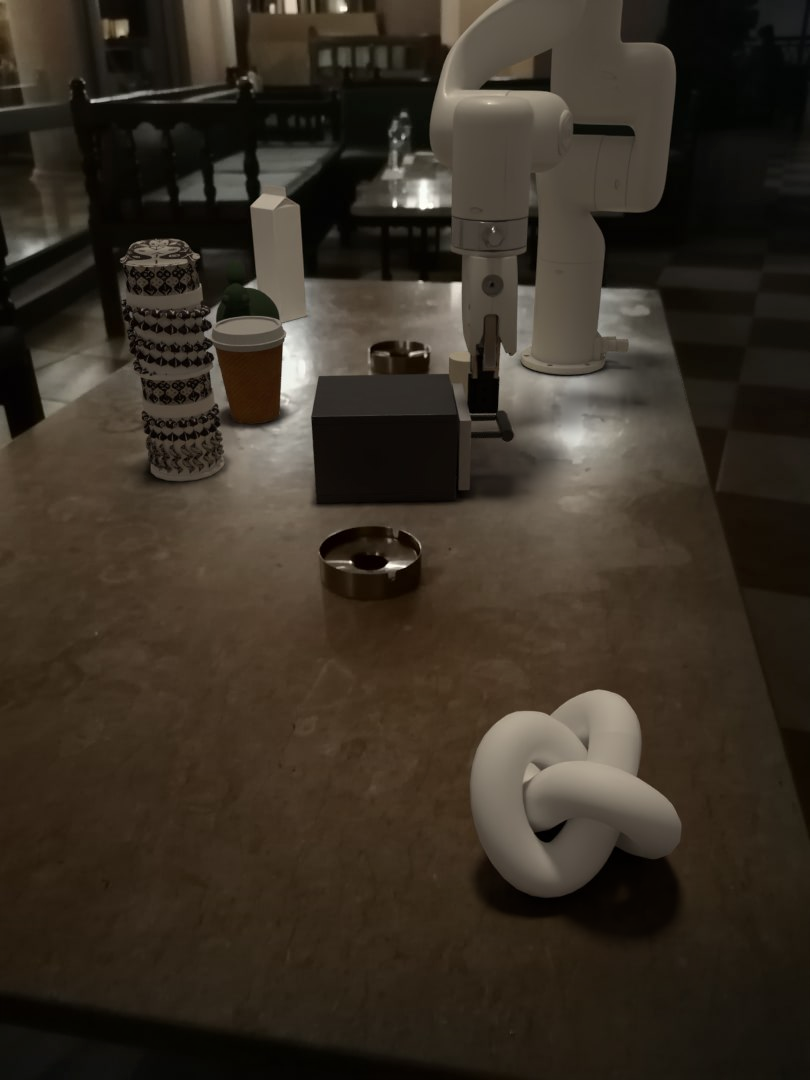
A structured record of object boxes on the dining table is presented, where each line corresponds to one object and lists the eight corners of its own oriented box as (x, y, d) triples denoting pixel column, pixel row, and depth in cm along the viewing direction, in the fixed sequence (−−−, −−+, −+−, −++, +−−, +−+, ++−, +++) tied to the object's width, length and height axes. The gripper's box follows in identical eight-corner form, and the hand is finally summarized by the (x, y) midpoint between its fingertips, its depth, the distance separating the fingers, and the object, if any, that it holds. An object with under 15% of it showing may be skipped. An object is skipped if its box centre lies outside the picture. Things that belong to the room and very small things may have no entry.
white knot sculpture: (529, 965, 48) (540, 844, 44) (427, 812, 57) (428, 700, 53) (697, 889, 52) (722, 771, 48) (576, 758, 62) (588, 651, 57)
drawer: (502, 446, 107) (505, 382, 103) (515, 489, 97) (519, 419, 93) (345, 449, 106) (342, 385, 103) (341, 492, 96) (338, 422, 92)
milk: (281, 323, 158) (270, 189, 148) (259, 317, 162) (247, 186, 151) (307, 316, 162) (298, 185, 152) (285, 310, 166) (275, 182, 155)
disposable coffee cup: (278, 431, 114) (271, 337, 108) (207, 426, 116) (196, 333, 110) (301, 405, 122) (295, 316, 117) (234, 400, 124) (225, 313, 118)
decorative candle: (130, 476, 103) (91, 248, 91) (175, 446, 110) (145, 232, 98) (200, 487, 100) (170, 254, 88) (241, 455, 107) (219, 237, 95)
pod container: (480, 392, 126) (481, 350, 123) (483, 404, 122) (485, 361, 119) (447, 393, 126) (447, 351, 123) (449, 404, 122) (450, 361, 119)
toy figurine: (281, 408, 126) (283, 340, 147) (269, 272, 115) (273, 220, 136) (212, 411, 125) (224, 343, 146) (194, 275, 115) (210, 222, 135)
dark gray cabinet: (447, 453, 108) (448, 373, 103) (455, 500, 96) (457, 413, 92) (323, 455, 107) (318, 375, 103) (316, 503, 96) (311, 416, 91)
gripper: (538, 248, 83) (526, 436, 92) (516, 222, 96) (508, 388, 105) (456, 249, 83) (452, 437, 91) (446, 223, 96) (443, 389, 105)
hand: (482, 410), depth 98 cm, fingers closed
